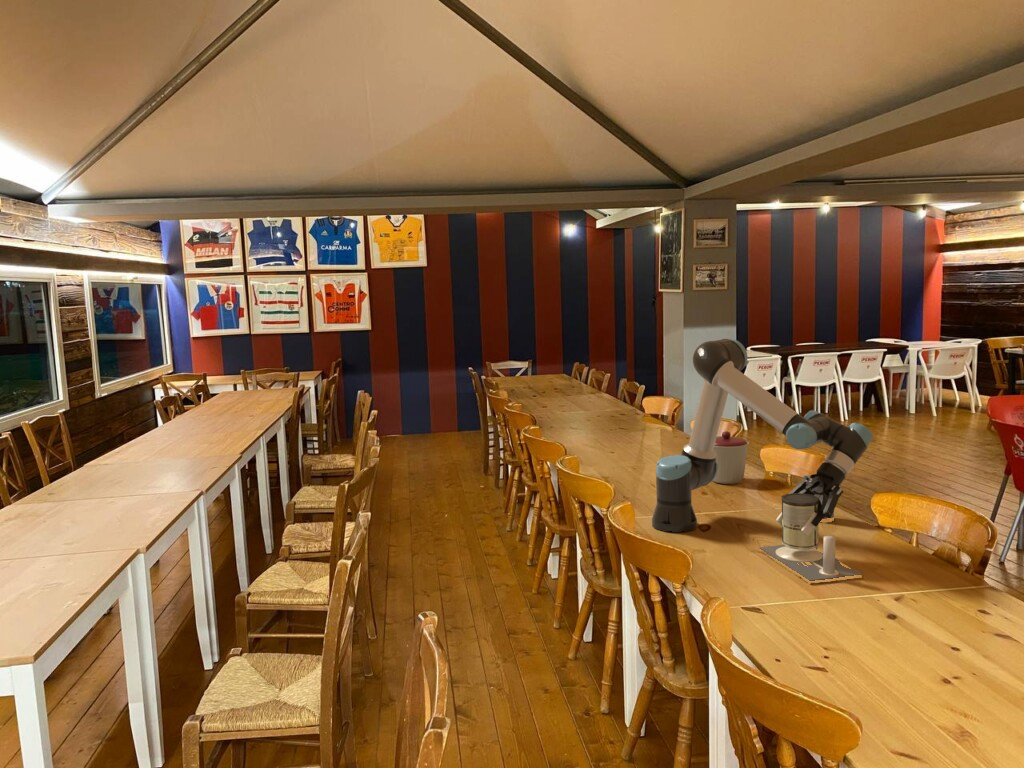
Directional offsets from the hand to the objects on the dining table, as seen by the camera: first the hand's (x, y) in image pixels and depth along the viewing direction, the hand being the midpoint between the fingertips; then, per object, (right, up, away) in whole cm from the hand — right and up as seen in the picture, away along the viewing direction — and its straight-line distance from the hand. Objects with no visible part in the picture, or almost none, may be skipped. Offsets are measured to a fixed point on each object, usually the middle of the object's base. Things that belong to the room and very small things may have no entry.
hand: (791, 527), depth 216 cm
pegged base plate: (+4, -10, -3) cm, 11 cm away
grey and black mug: (+24, -4, +40) cm, 47 cm away
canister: (+8, +1, +92) cm, 92 cm away
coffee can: (+3, -5, +2) cm, 6 cm away
